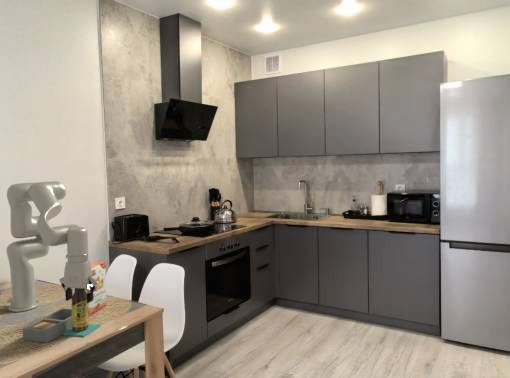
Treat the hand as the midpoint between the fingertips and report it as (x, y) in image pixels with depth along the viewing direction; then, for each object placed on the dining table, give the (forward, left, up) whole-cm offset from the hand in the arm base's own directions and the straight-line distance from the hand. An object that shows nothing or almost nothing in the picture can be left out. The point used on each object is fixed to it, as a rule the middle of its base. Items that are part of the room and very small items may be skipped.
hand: (79, 300), depth 156 cm
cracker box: (-9, +20, -12) cm, 25 cm away
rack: (-10, -2, -12) cm, 16 cm away
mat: (+1, 0, -12) cm, 12 cm away
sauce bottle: (0, 0, -12) cm, 12 cm away
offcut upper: (-10, -7, -10) cm, 16 cm away
